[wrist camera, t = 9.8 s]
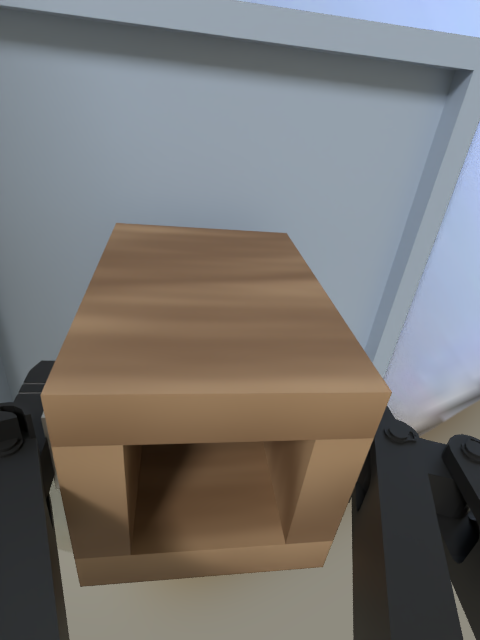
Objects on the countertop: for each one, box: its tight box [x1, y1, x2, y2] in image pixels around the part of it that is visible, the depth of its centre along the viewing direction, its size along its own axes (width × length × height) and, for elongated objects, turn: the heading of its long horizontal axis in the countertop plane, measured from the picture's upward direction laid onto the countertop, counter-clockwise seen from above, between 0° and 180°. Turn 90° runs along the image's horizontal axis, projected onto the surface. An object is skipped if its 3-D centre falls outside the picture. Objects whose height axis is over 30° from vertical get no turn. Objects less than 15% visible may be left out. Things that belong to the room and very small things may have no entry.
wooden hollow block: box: [41, 223, 392, 587], centre depth 14 cm, size 9×7×10 cm
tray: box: [0, 0, 480, 403], centre depth 20 cm, size 22×22×2 cm
